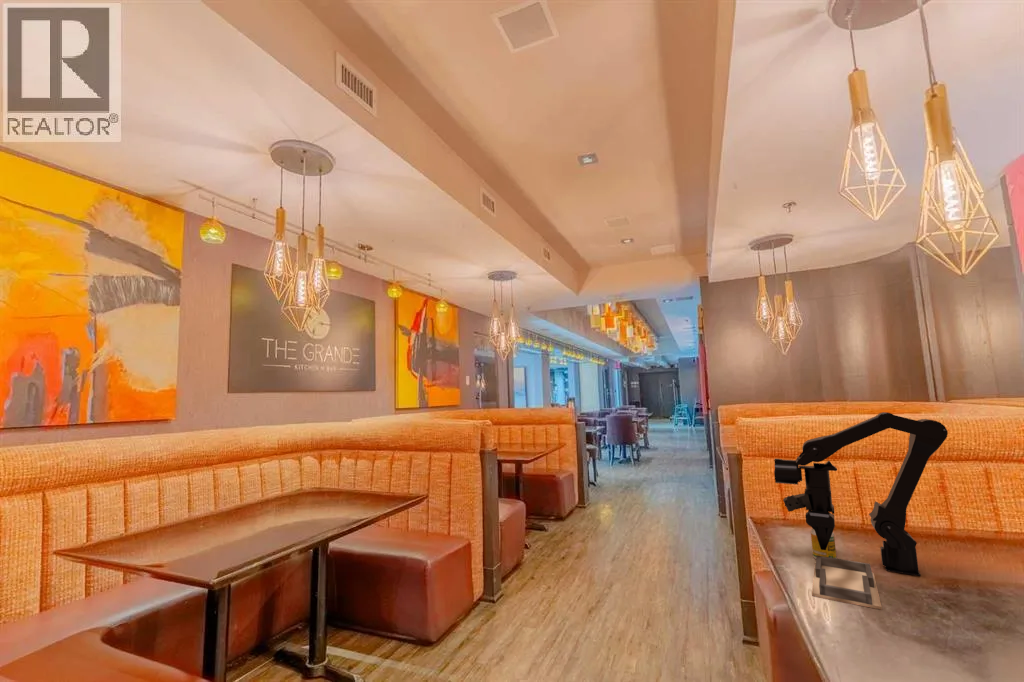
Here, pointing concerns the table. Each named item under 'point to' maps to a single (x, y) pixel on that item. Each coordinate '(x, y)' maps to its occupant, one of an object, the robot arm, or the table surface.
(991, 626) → the table surface
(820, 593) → the grey flat frame
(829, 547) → the supplement bottle
